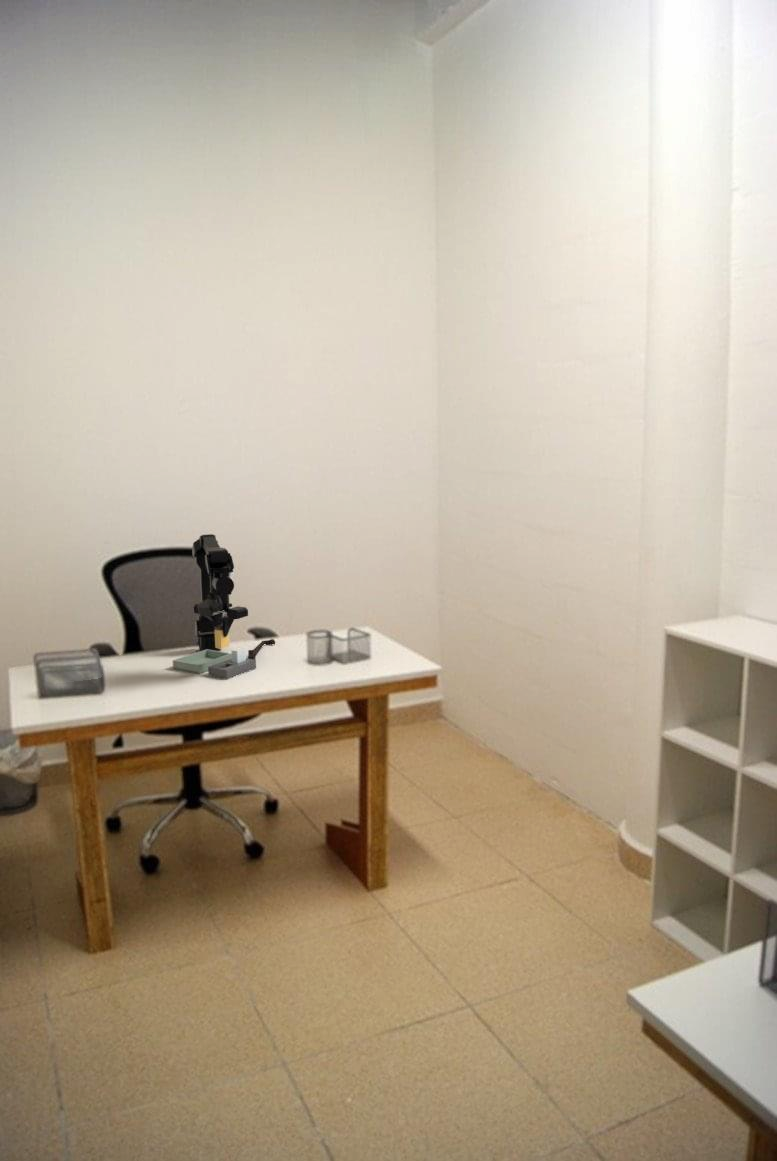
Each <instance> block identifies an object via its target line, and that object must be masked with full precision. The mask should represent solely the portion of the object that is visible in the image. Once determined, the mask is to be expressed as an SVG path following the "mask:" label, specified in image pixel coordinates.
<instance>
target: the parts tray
mask: <svg viewBox="0 0 777 1161" xmlns="http://www.w3.org/2000/svg"><path fill="white" fill-rule="evenodd" d="M229 659H232V653H231V652H225V651H214V650H208V649H206V650H203V651H200V652H194V653H190V654H188V655H185V656H182V657H179V658H176V659H173V660H172V668H173V670H177V671H181V670H182V671H181V672H186V671H187V673H191V672H193V673H192V674H196V673H201V674H203V673H202V672H204V673H206V672H205V671H207V672H208V667H209V666H212V665H215V664H218V663H221V662H224V661H226V660H229Z"/></svg>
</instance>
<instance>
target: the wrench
mask: <svg viewBox="0 0 777 1161" xmlns="http://www.w3.org/2000/svg"><path fill="white" fill-rule="evenodd" d="M264 644H274V645H275V644H276V640H275V639H274V638H273V639H272V638H271V639H268V640H262V641H261V642H260V643H258V645H257V646H256V647H255V648H254V649H249V650H248V651H247V652H248V656H247V658H248V659H254V660H256V661H257V658H256V656H257V655H258V653H259V652H260V651H261V649H262V648H263V647H264V646H265V645H264ZM263 645H264V646H263ZM262 646H263V647H262Z"/></svg>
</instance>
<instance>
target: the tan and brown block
mask: <svg viewBox="0 0 777 1161" xmlns="http://www.w3.org/2000/svg"><path fill="white" fill-rule="evenodd" d="M214 631H215V648H219V649H221V650H222V649H225V648H227V647H230V645H231V644H230V631H229V632H228V635H227V636H226V637H224V635H223V627H222V624H221V625H218V626H215V627H214Z"/></svg>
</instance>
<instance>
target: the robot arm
mask: <svg viewBox="0 0 777 1161" xmlns="http://www.w3.org/2000/svg"><path fill="white" fill-rule="evenodd" d="M191 550H192V552H191V553H192V558H194V561H195V563H196V565H197V566H198V568H199V588H200V589H199V590H200V602H198V603H195V604H194V606H193V613H194V614H196V620H195V622H194V635H195V637H196V638H198V650H197V649H196V650H195V653H197V652H200V651H203V650H206V649H208V650H214V651H220V650H221V651H222V649H220V648H215V631H214V627H215V626H218V625H221V624H222V627H223V635H224V637H226V636H227V635H228V632H229V633H230V631H231V627H232V625H233V623H234V621H235V620H239V619H241V618H245V617H248V616H249V610H248V608H247V607H245V606H239V605H237V606H233V603H230V595H232V594H233V593H232V592H233V591H234V589H235V583H234V580H233V579H232V578H231V577H229V574H230V573H233V572H234V568H235V566H234V562H233V556H232V555H231V553H230V552H229V550H227V549H226V548H225V547H220V544H219V542H218V540H217V537H216V534H213V533H212V534H211V533H210V534H201V535H199V538H198V539H196V540H195V541H194V542H193V543H192V548H191ZM221 651H220V652H221Z"/></svg>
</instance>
